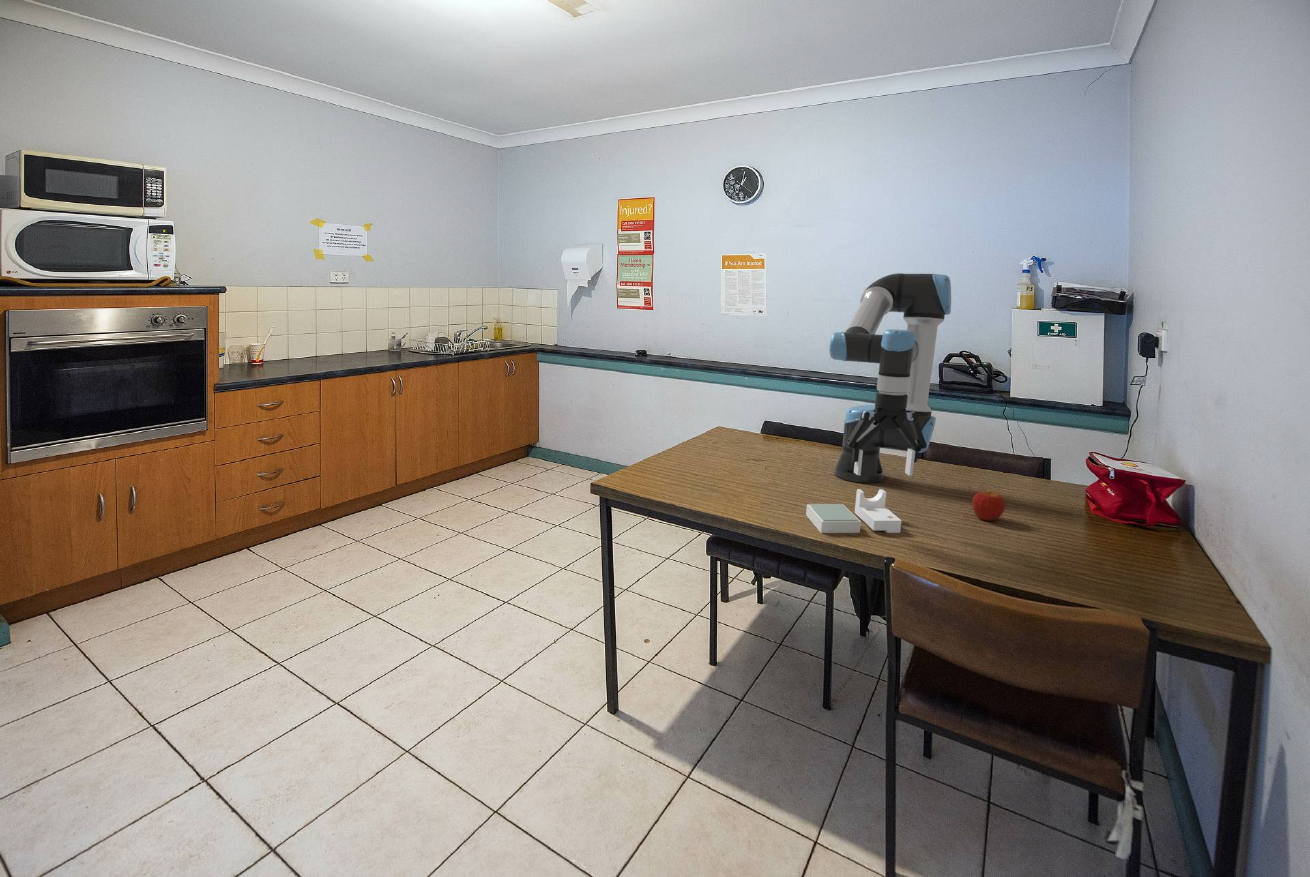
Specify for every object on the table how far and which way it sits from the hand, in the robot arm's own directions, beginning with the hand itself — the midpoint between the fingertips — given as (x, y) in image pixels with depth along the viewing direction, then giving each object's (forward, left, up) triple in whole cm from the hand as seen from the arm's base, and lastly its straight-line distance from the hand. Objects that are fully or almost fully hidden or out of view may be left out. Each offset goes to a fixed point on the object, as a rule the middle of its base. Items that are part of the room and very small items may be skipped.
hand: (882, 474), depth 169 cm
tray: (+12, -1, -14) cm, 18 cm away
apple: (-32, -4, -14) cm, 35 cm away
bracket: (0, -1, -14) cm, 14 cm away
